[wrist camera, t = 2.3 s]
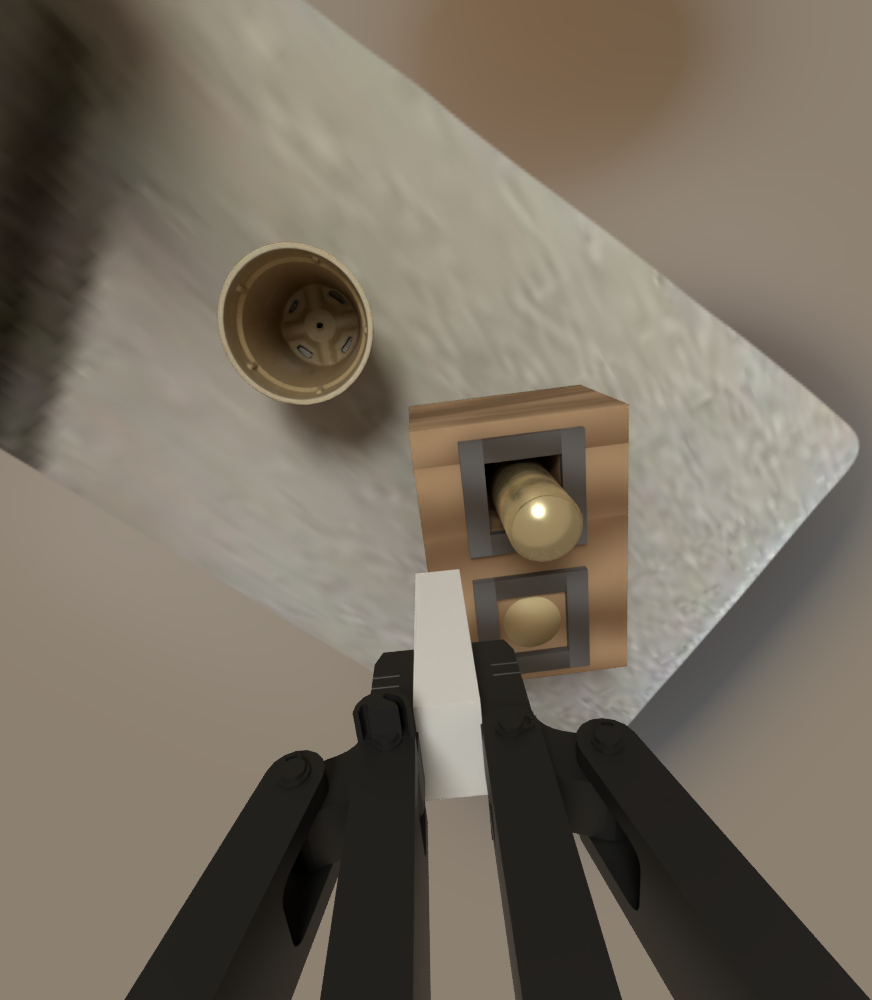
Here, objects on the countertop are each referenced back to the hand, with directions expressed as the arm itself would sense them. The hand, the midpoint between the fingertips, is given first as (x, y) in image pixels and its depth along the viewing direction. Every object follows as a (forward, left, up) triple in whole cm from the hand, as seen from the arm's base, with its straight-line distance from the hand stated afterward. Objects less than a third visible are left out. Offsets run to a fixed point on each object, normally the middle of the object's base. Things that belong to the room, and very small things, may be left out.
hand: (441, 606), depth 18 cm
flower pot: (-10, -7, -27) cm, 29 cm away
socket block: (+7, +6, -27) cm, 28 cm away
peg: (+2, +6, -19) cm, 20 cm away
